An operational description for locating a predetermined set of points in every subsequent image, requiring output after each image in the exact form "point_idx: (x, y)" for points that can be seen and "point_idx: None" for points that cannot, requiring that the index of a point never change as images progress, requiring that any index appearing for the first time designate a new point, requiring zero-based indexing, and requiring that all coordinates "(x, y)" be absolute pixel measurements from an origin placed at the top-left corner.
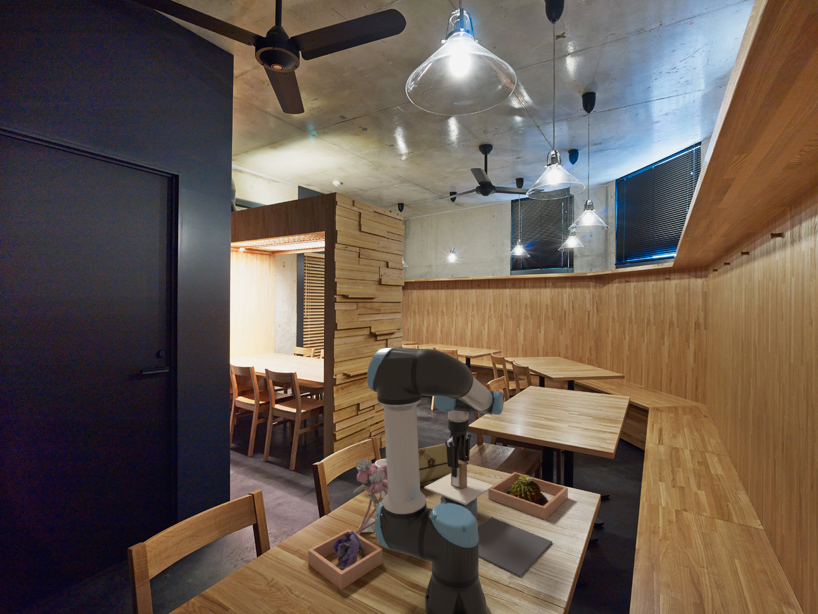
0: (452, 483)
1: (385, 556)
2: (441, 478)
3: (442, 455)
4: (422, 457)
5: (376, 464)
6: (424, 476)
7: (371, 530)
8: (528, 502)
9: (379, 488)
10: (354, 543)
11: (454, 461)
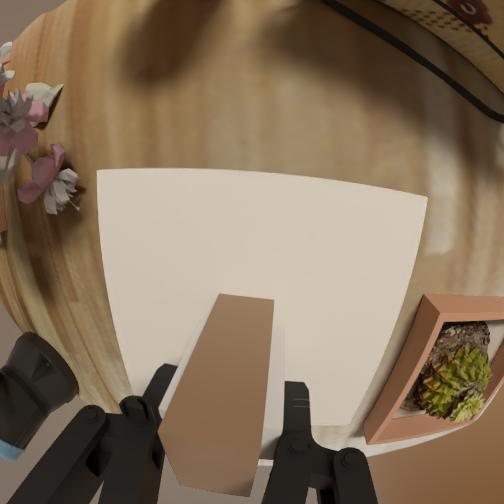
0: (200, 321)
1: (14, 219)
2: (273, 177)
3: None
4: None
5: None
6: (409, 7)
7: (30, 123)
8: (384, 421)
9: None
10: None
11: (99, 478)
